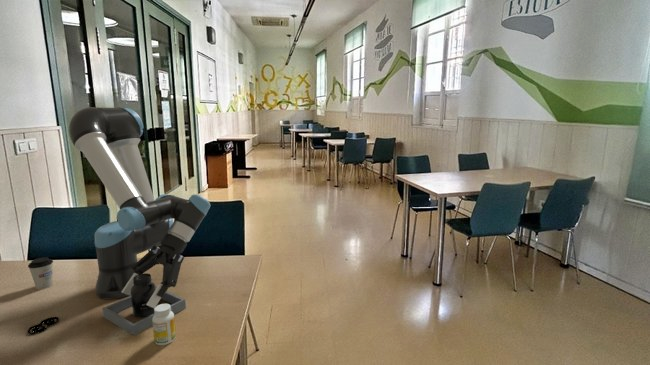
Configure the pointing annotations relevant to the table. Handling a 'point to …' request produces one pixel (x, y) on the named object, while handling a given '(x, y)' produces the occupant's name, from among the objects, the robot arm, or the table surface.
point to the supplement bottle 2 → (163, 324)
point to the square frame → (145, 323)
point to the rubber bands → (43, 324)
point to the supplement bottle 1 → (142, 295)
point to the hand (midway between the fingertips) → (137, 300)
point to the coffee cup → (41, 272)
